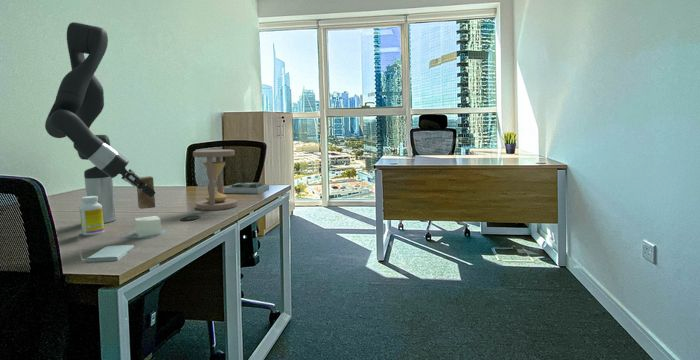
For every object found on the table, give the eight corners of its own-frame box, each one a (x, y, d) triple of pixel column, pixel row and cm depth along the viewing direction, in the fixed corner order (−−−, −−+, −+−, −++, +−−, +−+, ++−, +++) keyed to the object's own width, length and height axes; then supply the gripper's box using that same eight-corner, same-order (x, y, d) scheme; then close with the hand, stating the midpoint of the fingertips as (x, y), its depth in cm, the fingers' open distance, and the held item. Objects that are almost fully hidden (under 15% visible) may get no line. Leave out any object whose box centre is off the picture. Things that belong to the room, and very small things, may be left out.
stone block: (239, 191, 247) (239, 181, 247) (263, 191, 244) (263, 181, 244) (231, 193, 239) (231, 183, 238) (256, 193, 236) (256, 184, 235)
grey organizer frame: (224, 193, 239) (223, 187, 238) (236, 188, 253) (236, 183, 253) (258, 193, 235) (258, 187, 234) (269, 189, 249) (269, 184, 248)
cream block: (138, 237, 146) (137, 222, 146) (135, 232, 152) (134, 218, 151) (161, 233, 150) (160, 219, 149) (157, 229, 156) (156, 215, 155)
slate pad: (120, 238, 147) (120, 237, 146) (144, 229, 158) (144, 228, 158) (150, 239, 144) (150, 238, 144) (172, 230, 156) (172, 229, 156)
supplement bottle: (108, 232, 155) (105, 195, 153) (91, 237, 149) (87, 199, 147) (95, 230, 158) (92, 194, 156) (77, 235, 152) (74, 197, 150)
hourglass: (209, 202, 210) (205, 149, 207) (243, 203, 207) (241, 149, 204) (188, 210, 193) (184, 152, 190) (225, 210, 190) (222, 151, 186)
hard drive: (117, 256, 123) (134, 244, 135) (85, 258, 122) (105, 245, 134) (118, 262, 123) (134, 249, 135) (86, 264, 122) (105, 250, 134)
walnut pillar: (140, 208, 147) (138, 178, 145) (138, 206, 150) (136, 177, 149) (155, 207, 149) (153, 177, 148) (152, 205, 153) (150, 176, 152)
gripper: (119, 152, 137) (164, 187, 145) (114, 150, 149) (156, 183, 157) (101, 170, 135) (147, 205, 143) (97, 167, 147) (140, 199, 155)
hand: (151, 193), depth 150 cm, fingers closed on walnut pillar, 4 cm apart
